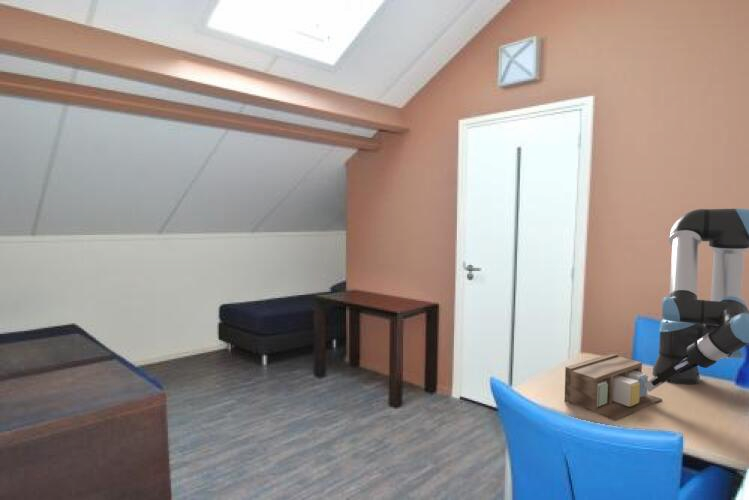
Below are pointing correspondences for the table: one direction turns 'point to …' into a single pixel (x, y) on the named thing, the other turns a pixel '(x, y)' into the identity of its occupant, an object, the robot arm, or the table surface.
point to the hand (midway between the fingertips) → (647, 387)
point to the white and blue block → (641, 378)
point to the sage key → (602, 392)
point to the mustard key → (625, 390)
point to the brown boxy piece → (585, 381)
